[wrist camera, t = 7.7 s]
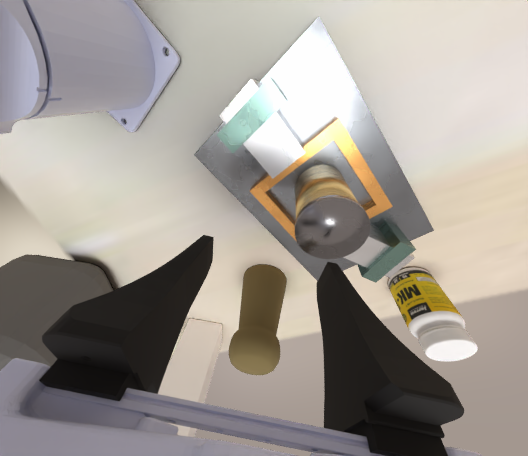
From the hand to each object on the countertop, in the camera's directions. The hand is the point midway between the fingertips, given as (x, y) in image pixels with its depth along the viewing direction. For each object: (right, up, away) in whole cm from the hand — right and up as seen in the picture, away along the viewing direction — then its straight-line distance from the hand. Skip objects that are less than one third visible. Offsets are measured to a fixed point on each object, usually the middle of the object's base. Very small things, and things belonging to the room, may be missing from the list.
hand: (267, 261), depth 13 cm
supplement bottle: (+18, -4, +13) cm, 22 cm away
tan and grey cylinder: (+5, +6, +6) cm, 10 cm away
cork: (0, -5, +16) cm, 16 cm away
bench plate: (+5, +6, +7) cm, 11 cm away
